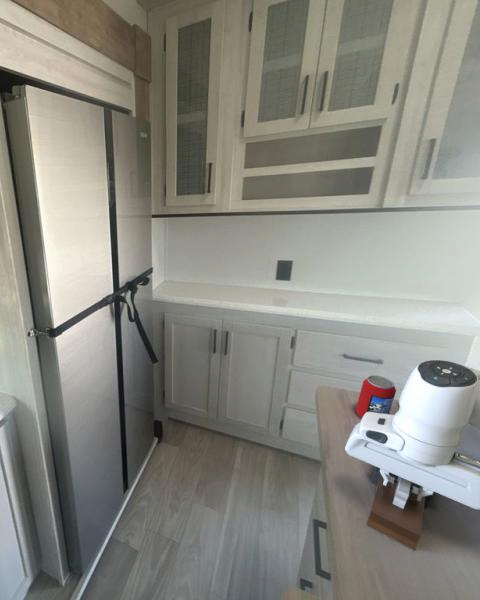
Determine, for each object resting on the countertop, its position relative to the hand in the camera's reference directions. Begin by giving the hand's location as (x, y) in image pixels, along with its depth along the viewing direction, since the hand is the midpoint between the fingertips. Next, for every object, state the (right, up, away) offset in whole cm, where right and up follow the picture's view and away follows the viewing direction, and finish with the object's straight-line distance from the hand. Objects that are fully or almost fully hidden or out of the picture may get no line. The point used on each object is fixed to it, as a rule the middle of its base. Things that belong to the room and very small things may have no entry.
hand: (401, 490), depth 68 cm
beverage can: (+16, +7, +25) cm, 30 cm away
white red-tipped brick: (0, -1, 0) cm, 1 cm away
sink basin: (+8, -1, +8) cm, 11 cm away
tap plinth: (-2, -5, 0) cm, 5 cm away
